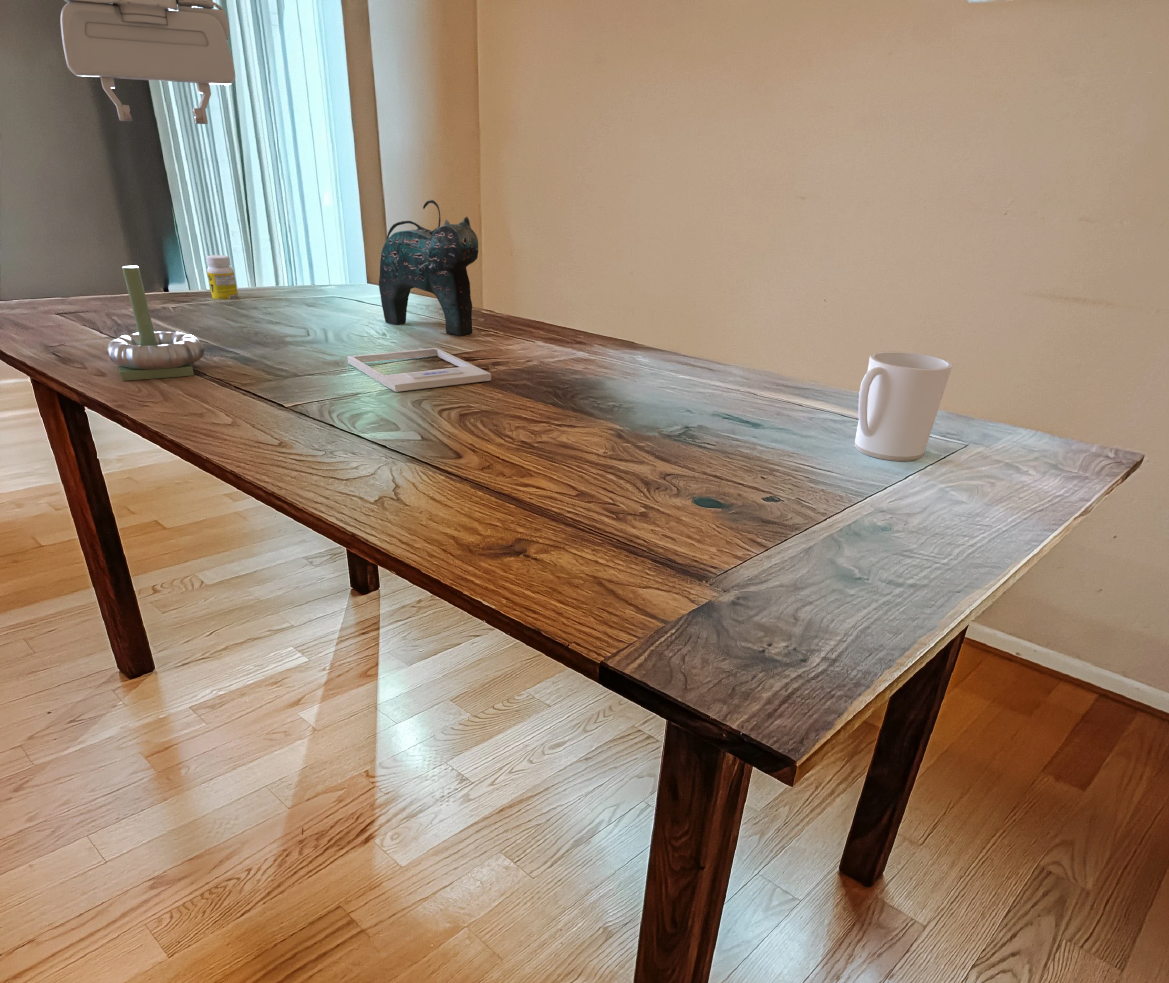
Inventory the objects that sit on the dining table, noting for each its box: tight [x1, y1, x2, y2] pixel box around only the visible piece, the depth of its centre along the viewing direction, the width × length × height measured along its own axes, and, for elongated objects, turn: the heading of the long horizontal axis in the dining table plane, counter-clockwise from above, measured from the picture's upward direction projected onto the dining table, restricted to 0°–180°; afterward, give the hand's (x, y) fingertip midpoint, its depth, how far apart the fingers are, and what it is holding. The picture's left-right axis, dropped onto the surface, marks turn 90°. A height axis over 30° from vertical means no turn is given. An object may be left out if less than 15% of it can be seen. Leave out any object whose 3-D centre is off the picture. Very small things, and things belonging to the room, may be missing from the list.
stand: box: [117, 265, 195, 382], centre depth 111 cm, size 9×9×13 cm
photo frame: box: [346, 347, 492, 393], centre depth 119 cm, size 15×1×18 cm
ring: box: [106, 330, 205, 370], centre depth 114 cm, size 12×12×3 cm
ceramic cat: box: [378, 199, 479, 337], centre depth 140 cm, size 20×6×20 cm, turn 59°
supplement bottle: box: [205, 254, 239, 300], centre depth 154 cm, size 5×5×8 cm
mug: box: [854, 350, 953, 462], centre depth 94 cm, size 11×9×10 cm
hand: (164, 122), depth 111 cm, fingers open, 8 cm apart
